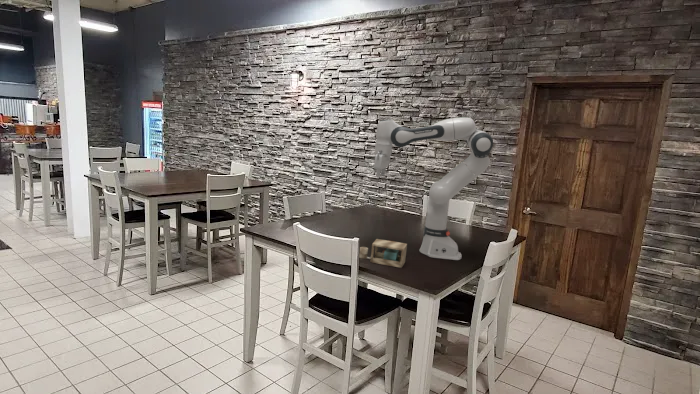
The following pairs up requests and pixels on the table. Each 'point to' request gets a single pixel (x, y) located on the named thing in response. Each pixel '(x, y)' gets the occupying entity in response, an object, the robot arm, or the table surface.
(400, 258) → the cubby shelf
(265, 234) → the table surface
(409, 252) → the table surface
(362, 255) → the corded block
